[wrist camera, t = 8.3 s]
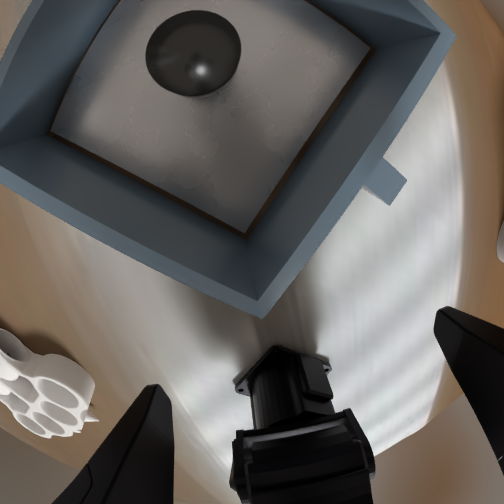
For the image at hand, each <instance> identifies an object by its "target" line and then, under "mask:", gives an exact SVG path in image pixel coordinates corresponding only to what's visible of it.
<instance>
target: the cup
mask: <svg viewBox="0 0 504 504" xmlns="http://www.w3.org/2000/svg"><path fill="white" fill-rule="evenodd" d="M497 255H498V258H499V259H500V260H501V261H502V262H503V263H504V221H503V223H502V226H501V228H500V231H499V235H498V239H497Z"/></svg>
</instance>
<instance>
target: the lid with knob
mask: <svg viewBox="0 0 504 504" xmlns="http://www.w3.org/2000/svg"><path fill="white" fill-rule="evenodd" d="M369 50H370V47H369V46H367V45H366V44H365V43H364V42H362V41H361V40H360V39H359V38H357V37H356V36H355V35H354V34H352V33H351V32H350V31H348V30H347V29H346V28H344V27H343V26H342V25H340V24H339V23H337V22H336V21H335V20H333V19H332V18H330V17H329V16H327V15H326V14H324V13H323V12H321V11H320V10H318V9H317V8H315V7H314V6H312V5H311V4H309V3H308V2H306V1H304V0H120V2H119V3H118V5H117V6H116V7H115V9H114V10H113V12H112V13H111V15H110V16H109V18H108V19H107V21H106V22H105V24H104V25H103V27H102V28H101V30H100V32H99V33H98V35H97V36H96V38H95V40H94V41H93V43H92V45H91V46H90V48H89V50H88V52H87V53H86V55H85V57H84V59H83V61H82V63H81V64H80V66H79V68H78V70H77V72H76V74H75V76H74V78H73V80H72V82H71V84H70V86H69V88H68V90H67V93H66V95H65V97H64V99H63V101H62V104H61V106H60V108H59V111H58V113H57V115H56V118H55V120H54V123H53V126H52V128H51V132H53V133H55V134H57V135H59V136H61V137H63V138H65V139H67V140H69V141H71V142H73V143H75V144H77V145H79V146H81V147H83V148H84V149H86V150H88V151H90V152H92V153H94V154H96V155H98V156H100V157H102V158H104V159H106V160H108V161H110V162H111V163H113V164H115V165H117V166H119V167H121V168H123V169H125V170H127V171H129V172H131V173H133V174H134V175H136V176H138V177H140V178H142V179H144V180H146V181H148V182H150V183H152V184H153V185H155V186H157V187H159V188H161V189H163V190H165V191H167V192H169V193H170V194H172V195H174V196H176V197H178V198H180V199H182V200H184V201H185V202H187V203H189V204H191V205H193V206H195V207H197V208H199V209H200V210H202V211H204V212H206V213H208V214H210V215H212V216H213V217H215V218H217V219H219V220H221V221H223V222H225V223H226V224H228V225H230V226H232V227H234V228H236V229H238V230H239V231H241V232H243V233H245V232H246V230H247V229H248V227H249V226H250V224H251V223H252V221H253V220H254V218H255V217H256V215H257V214H258V212H259V211H260V209H261V208H262V206H263V205H264V203H265V202H266V200H267V199H268V197H269V196H270V194H271V193H272V191H273V190H274V188H275V187H276V185H277V184H278V182H279V181H280V179H281V178H282V176H283V175H284V173H285V172H286V170H287V169H288V167H289V166H290V164H291V163H292V161H293V160H294V158H295V157H296V155H297V154H298V152H299V151H300V149H301V148H302V146H303V145H304V143H305V142H306V141H307V139H308V138H309V136H310V135H311V133H312V132H313V130H314V129H315V127H316V126H317V124H318V123H319V121H320V120H321V119H322V117H323V116H324V114H325V113H326V111H327V110H328V108H329V107H330V105H331V104H332V103H333V101H334V100H335V98H336V97H337V95H338V94H339V92H340V91H341V90H342V88H343V87H344V85H345V84H346V82H347V81H348V79H349V78H350V77H351V75H352V74H353V72H354V71H355V69H356V68H357V67H358V65H359V64H360V62H361V61H362V59H363V58H364V57H365V55H366V54H367V52H368V51H369Z"/></svg>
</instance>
